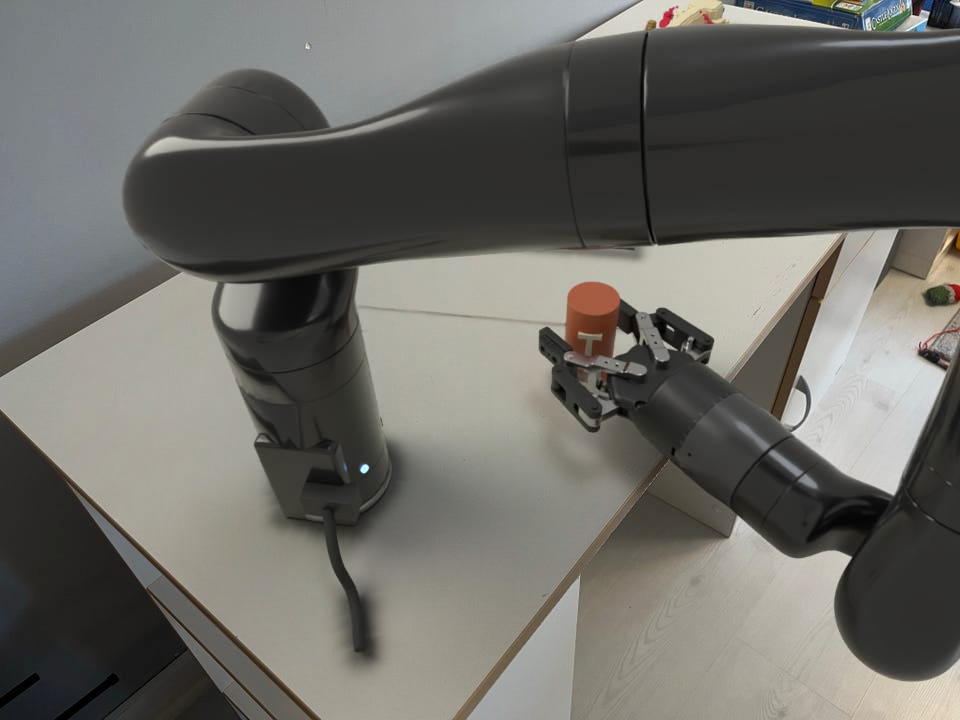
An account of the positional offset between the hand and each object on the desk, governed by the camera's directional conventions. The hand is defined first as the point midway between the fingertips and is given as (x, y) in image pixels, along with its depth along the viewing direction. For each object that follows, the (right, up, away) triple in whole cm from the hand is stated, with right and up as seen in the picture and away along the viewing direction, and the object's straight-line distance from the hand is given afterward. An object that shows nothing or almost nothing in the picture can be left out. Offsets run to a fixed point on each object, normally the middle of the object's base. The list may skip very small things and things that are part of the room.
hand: (573, 318), depth 64 cm
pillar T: (+2, -5, +3) cm, 6 cm away
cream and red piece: (+25, +48, +55) cm, 78 cm away
